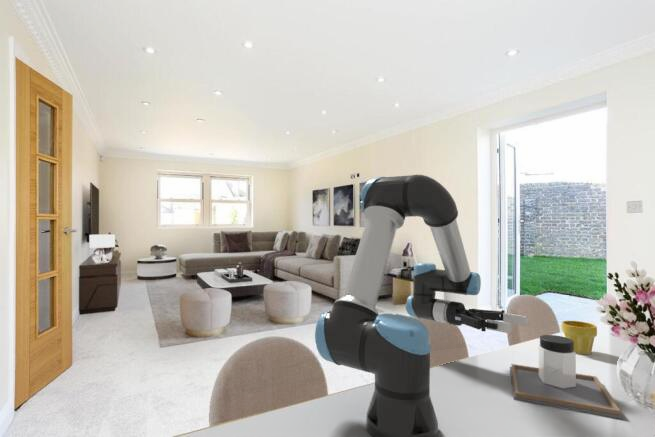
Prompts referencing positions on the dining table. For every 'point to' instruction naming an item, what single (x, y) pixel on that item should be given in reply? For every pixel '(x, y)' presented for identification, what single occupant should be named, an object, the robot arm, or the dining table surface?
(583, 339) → the plant pot
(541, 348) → the jar
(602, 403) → the square tray
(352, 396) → the dining table surface
